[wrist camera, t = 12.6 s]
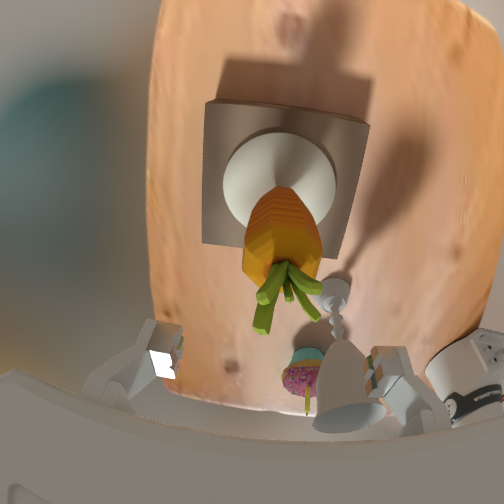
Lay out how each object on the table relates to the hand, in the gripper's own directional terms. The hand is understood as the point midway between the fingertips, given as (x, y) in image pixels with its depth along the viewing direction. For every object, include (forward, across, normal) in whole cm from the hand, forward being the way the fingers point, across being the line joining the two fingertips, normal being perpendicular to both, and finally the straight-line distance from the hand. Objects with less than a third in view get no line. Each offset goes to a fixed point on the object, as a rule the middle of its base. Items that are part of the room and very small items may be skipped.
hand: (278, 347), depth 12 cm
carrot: (+17, 0, 0) cm, 17 cm away
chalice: (+22, +9, -15) cm, 28 cm away
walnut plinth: (+21, 0, 0) cm, 21 cm away
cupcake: (+22, +9, -29) cm, 37 cm away
